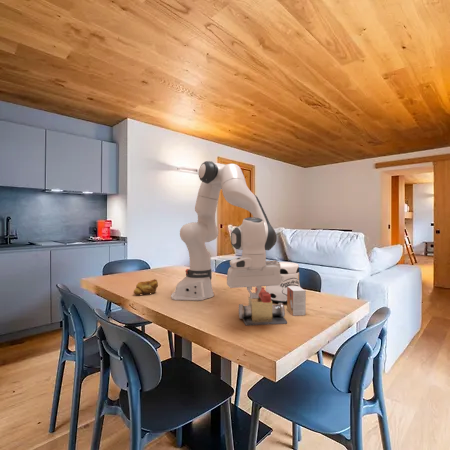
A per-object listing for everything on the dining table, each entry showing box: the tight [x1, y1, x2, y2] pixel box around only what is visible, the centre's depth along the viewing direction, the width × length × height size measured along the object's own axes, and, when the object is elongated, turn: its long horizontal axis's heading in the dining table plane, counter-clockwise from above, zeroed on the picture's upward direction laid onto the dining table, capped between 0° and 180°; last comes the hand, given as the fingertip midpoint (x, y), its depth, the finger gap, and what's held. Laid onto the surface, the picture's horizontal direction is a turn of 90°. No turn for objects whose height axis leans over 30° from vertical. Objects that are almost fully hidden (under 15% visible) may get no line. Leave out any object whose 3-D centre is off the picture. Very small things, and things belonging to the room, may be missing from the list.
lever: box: [254, 286, 272, 303], centre depth 107 cm, size 14×4×3 cm, turn 5°
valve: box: [238, 296, 288, 326], centre depth 112 cm, size 18×12×10 cm
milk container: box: [264, 261, 301, 304], centre depth 138 cm, size 17×17×18 cm
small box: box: [286, 286, 307, 316], centre depth 120 cm, size 8×6×10 cm
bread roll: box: [133, 278, 159, 296], centre depth 154 cm, size 13×10×8 cm
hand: (254, 298), depth 103 cm, fingers closed
